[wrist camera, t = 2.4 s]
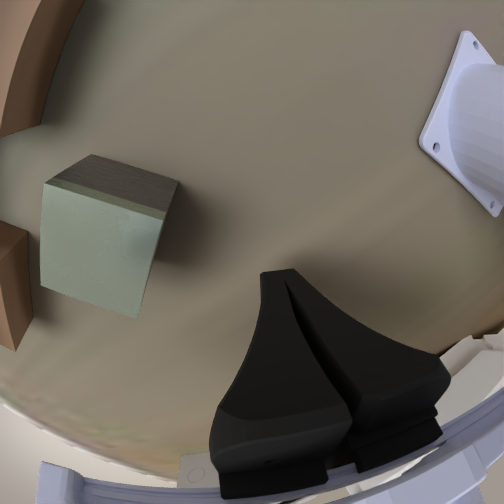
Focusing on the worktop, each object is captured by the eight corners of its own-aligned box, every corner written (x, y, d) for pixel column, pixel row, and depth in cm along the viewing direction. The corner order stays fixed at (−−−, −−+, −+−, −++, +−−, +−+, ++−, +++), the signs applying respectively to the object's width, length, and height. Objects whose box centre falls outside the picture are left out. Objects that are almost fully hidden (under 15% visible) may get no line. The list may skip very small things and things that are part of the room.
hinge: (202, 466, 29) (190, 527, 19) (181, 446, 28) (163, 511, 18) (328, 433, 27) (345, 503, 17) (315, 409, 26) (331, 486, 16)
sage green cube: (178, 180, 11) (163, 220, 8) (153, 259, 13) (137, 318, 10) (92, 153, 10) (44, 183, 7) (77, 234, 12) (40, 285, 8)
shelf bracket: (302, 385, 20) (383, 517, 10) (481, 283, 26) (550, 342, 15) (301, 414, 23) (364, 522, 13) (467, 316, 29) (527, 374, 18)
